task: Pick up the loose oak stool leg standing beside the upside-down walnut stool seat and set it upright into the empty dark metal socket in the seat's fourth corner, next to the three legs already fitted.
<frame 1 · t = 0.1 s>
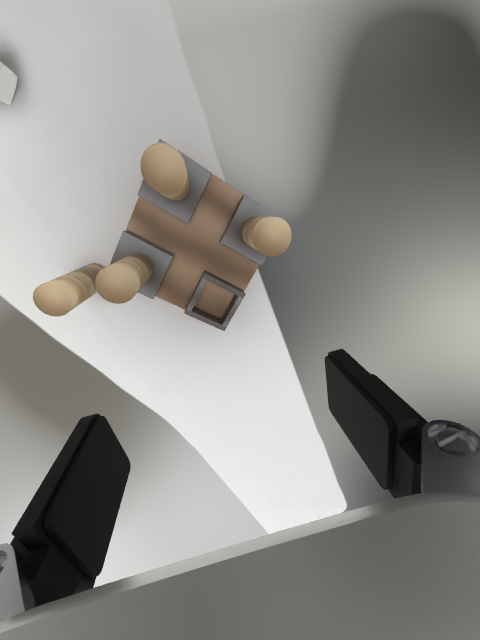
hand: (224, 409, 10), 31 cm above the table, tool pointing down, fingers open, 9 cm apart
stool: (197, 245, 37), on the table
oak leg: (96, 275, 37), on the table
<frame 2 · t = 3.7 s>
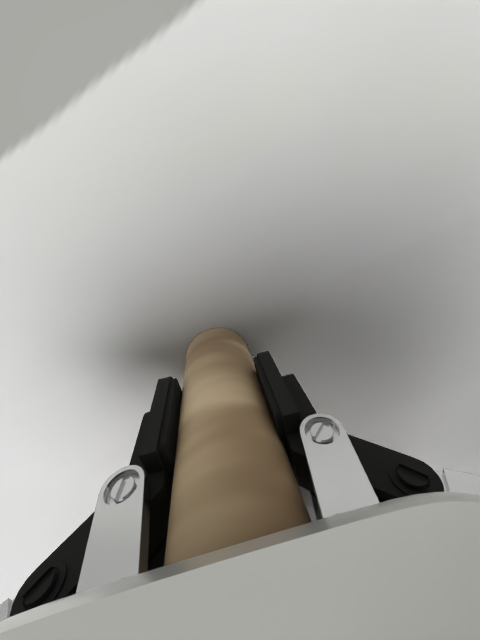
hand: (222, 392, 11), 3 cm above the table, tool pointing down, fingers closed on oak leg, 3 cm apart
oak leg: (218, 356, 14), on the table, touching gripper
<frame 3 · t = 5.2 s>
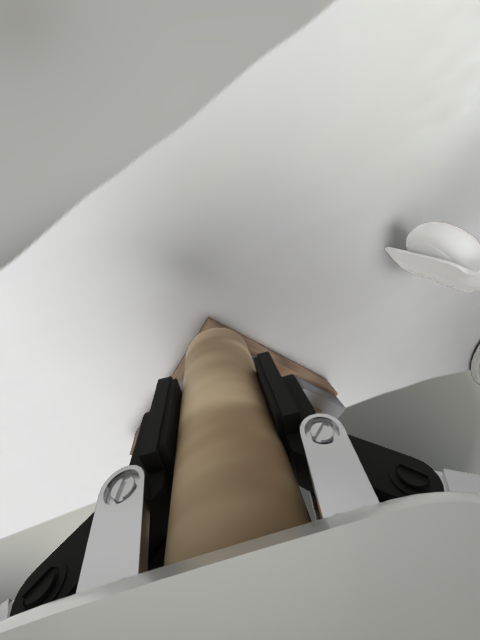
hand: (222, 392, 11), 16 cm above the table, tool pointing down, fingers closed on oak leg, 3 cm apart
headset: (455, 195, 27), on the table
stool: (233, 405, 32), on the table
oak leg: (217, 356, 14), point 13 cm above the table, touching gripper
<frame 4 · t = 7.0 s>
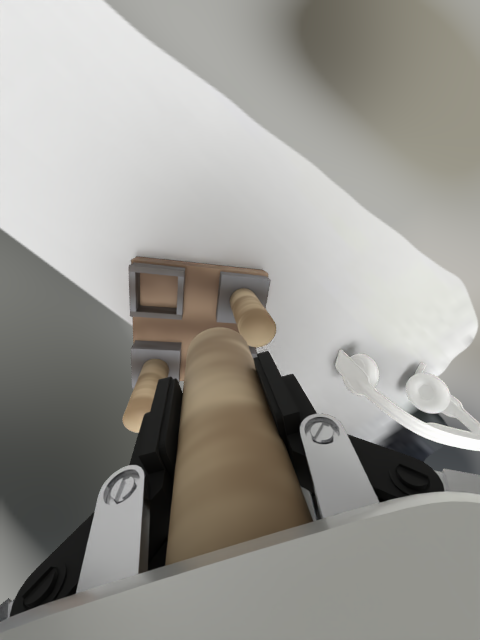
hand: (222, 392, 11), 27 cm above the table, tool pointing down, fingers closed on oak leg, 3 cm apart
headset: (375, 365, 48), on the table
stool: (198, 321, 39), on the table
oak leg: (218, 355, 14), point 24 cm above the table, touching gripper
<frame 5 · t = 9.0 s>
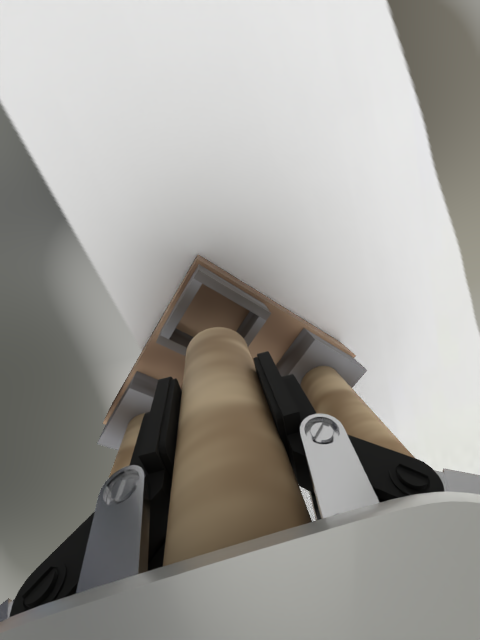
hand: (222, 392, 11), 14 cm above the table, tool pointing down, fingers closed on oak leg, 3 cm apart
stool: (229, 371, 27), on the table
oak leg: (217, 355, 14), point 10 cm above the table, touching gripper
when the fingers open (7 cm above the table, at t = 10.7 s): oak leg stays where it is, resting on stool.
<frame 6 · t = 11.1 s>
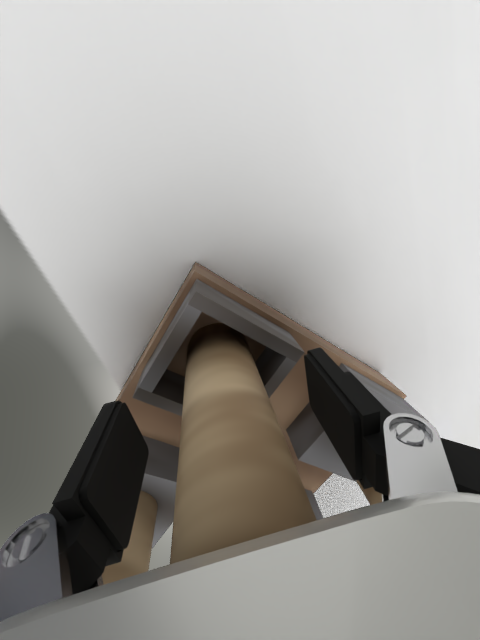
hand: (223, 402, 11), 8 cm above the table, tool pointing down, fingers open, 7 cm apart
stool: (237, 412, 21), on the table
oak leg: (217, 350, 15), point 3 cm above the table, touching stool
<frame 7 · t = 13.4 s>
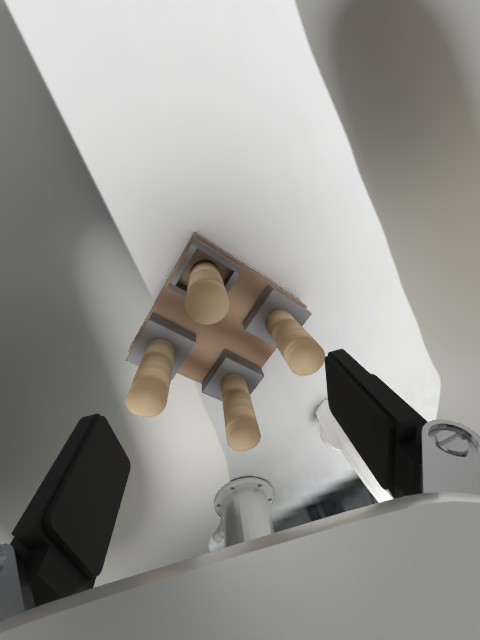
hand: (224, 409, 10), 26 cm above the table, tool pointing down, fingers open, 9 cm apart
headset: (345, 425, 50), on the table
stool: (217, 320, 37), on the table
oak leg: (205, 273, 31), point 3 cm above the table, touching stool
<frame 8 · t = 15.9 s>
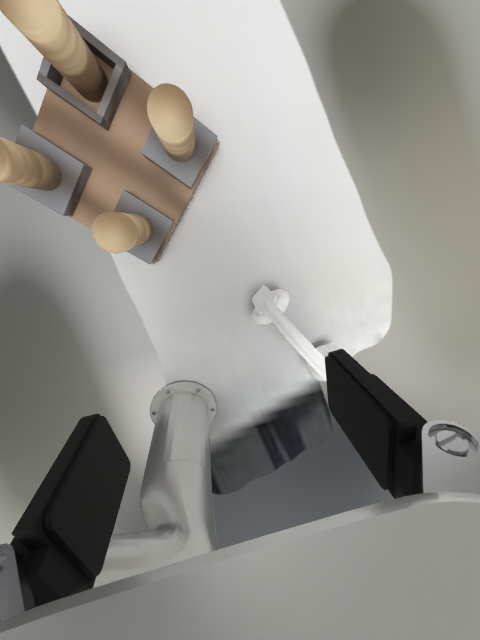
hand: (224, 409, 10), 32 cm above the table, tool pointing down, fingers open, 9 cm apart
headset: (289, 323, 46), on the table
stool: (125, 167, 34), on the table
oak leg: (91, 82, 28), point 3 cm above the table, touching stool
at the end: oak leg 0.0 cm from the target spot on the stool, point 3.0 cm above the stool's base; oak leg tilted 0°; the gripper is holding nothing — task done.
